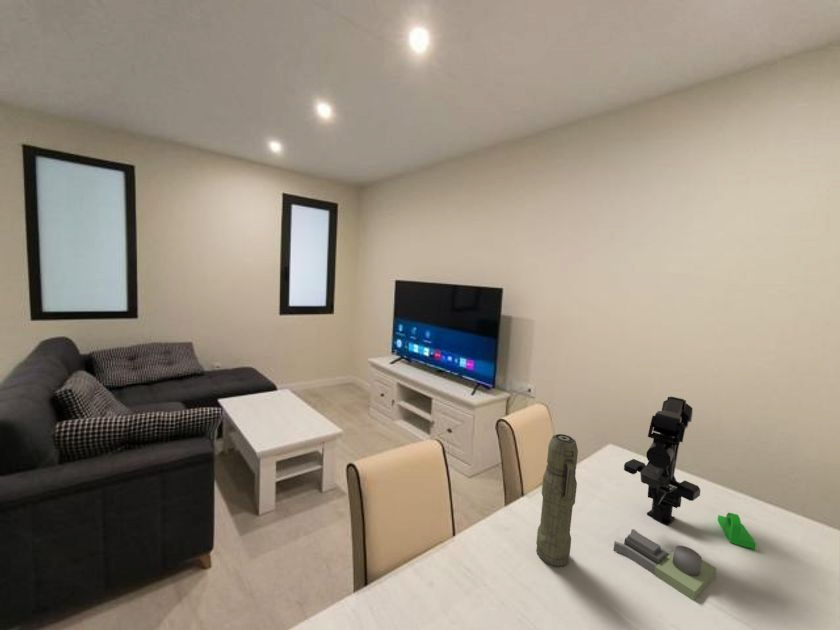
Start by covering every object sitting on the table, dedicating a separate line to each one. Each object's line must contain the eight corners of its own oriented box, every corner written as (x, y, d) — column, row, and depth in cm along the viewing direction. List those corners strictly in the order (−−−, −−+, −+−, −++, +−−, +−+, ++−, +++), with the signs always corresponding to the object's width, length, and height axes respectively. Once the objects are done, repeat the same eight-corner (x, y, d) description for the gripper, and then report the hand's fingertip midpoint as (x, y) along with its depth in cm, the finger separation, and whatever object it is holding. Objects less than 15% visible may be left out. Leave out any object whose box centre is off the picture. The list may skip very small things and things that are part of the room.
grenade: (549, 574, 94) (562, 448, 91) (527, 542, 106) (538, 429, 103) (579, 571, 96) (592, 447, 93) (554, 539, 107) (565, 428, 104)
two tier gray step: (631, 545, 108) (633, 529, 107) (664, 565, 100) (667, 548, 100) (623, 551, 105) (625, 534, 104) (656, 572, 97) (659, 555, 97)
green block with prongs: (638, 531, 114) (640, 512, 113) (715, 576, 97) (718, 554, 97) (611, 549, 105) (614, 529, 104) (692, 602, 88) (695, 578, 88)
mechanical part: (754, 549, 109) (758, 525, 108) (730, 542, 111) (733, 518, 111) (739, 526, 120) (743, 504, 119) (717, 520, 122) (720, 498, 122)
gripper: (617, 448, 110) (612, 496, 112) (688, 477, 95) (681, 532, 96) (635, 441, 116) (629, 486, 118) (704, 467, 101) (697, 519, 102)
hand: (656, 504), depth 108 cm, fingers closed
